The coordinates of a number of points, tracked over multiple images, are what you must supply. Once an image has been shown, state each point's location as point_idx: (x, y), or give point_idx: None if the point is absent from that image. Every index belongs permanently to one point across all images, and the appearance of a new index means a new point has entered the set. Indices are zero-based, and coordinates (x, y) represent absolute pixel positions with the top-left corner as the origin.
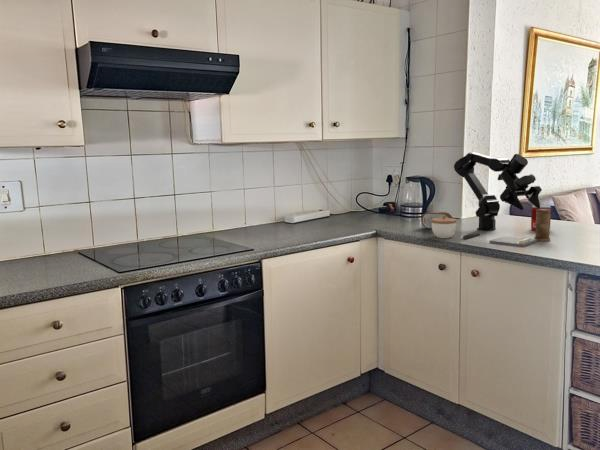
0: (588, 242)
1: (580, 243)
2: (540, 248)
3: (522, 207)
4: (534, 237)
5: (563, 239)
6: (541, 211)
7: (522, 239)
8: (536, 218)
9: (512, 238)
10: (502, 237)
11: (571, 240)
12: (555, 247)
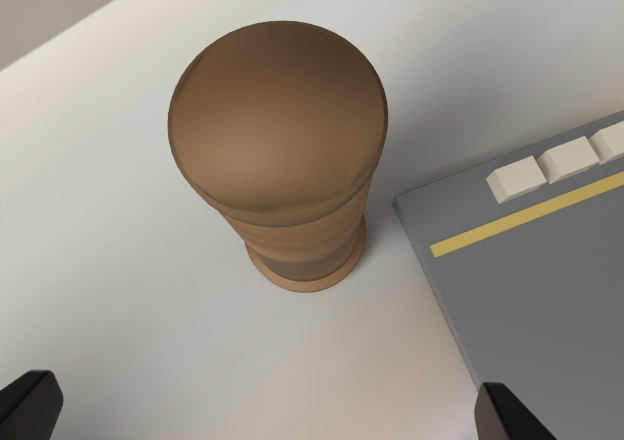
0: (129, 23)
1: (198, 25)
2: (546, 35)
3: (517, 398)
4: (344, 273)
5: (156, 172)
6: (371, 73)
7: (598, 161)
8: (363, 201)
9: (545, 339)
10: (595, 434)
11: (148, 119)
12: (436, 14)
